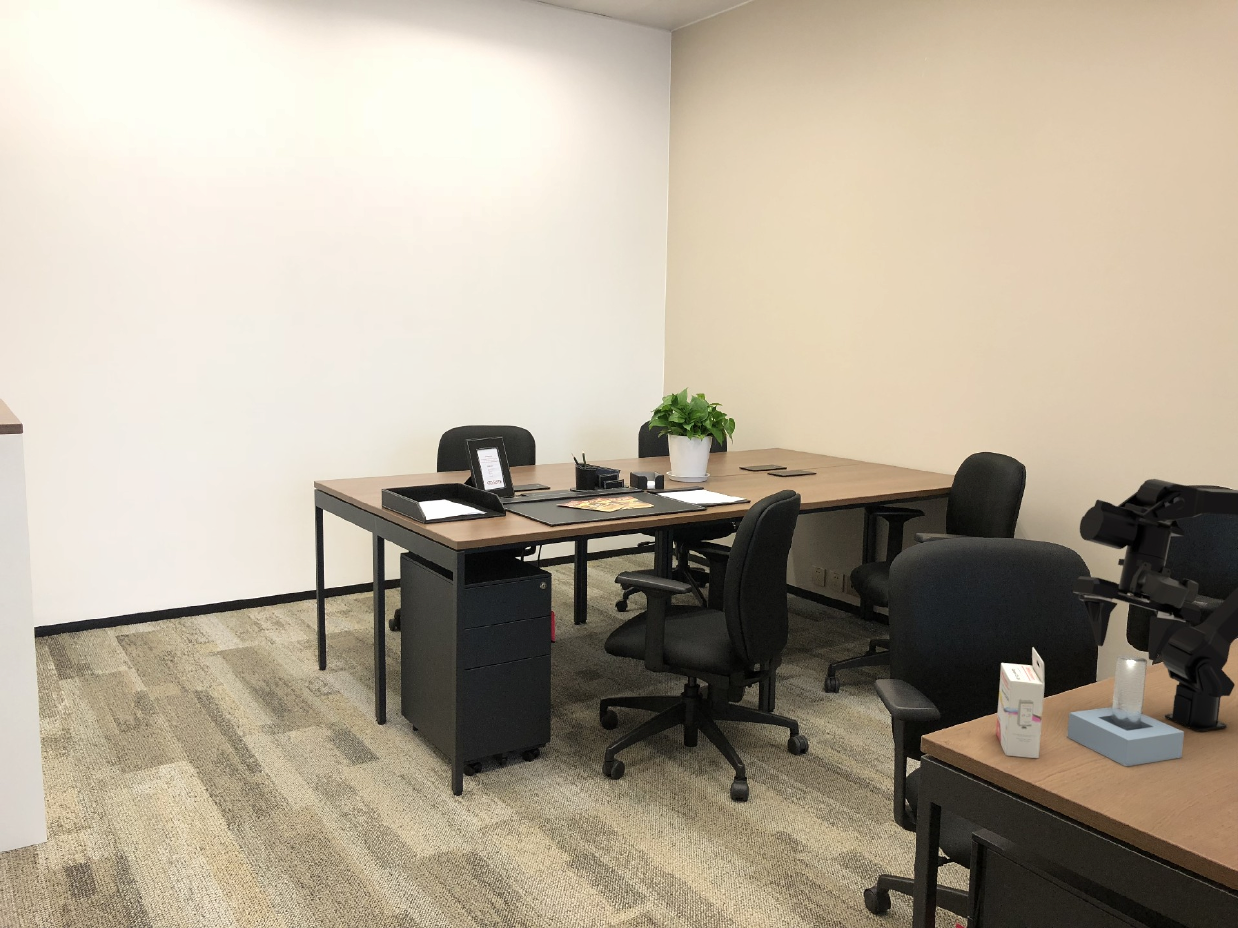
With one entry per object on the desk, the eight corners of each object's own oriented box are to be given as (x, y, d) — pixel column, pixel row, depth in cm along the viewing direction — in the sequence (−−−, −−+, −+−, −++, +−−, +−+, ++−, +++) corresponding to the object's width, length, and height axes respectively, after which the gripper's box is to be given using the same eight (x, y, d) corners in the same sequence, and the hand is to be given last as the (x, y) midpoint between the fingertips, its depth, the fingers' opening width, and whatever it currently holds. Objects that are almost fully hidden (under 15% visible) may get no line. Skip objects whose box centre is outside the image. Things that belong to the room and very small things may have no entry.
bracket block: (1120, 729, 154) (1122, 705, 153) (1181, 757, 144) (1184, 731, 143) (1067, 736, 150) (1069, 712, 149) (1125, 766, 140) (1128, 740, 139)
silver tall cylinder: (1122, 740, 149) (1130, 653, 148) (1144, 750, 146) (1153, 661, 144) (1102, 743, 148) (1111, 655, 146) (1124, 753, 144) (1133, 664, 142)
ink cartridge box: (993, 733, 151) (1001, 643, 149) (1027, 737, 150) (1035, 645, 148) (1004, 756, 142) (1012, 660, 140) (1039, 759, 141) (1048, 663, 139)
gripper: (1126, 542, 144) (1105, 644, 142) (1236, 574, 146) (1216, 674, 144) (1080, 541, 155) (1060, 636, 153) (1183, 571, 157) (1165, 664, 155)
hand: (1125, 652), depth 151 cm, fingers open, 9 cm apart
